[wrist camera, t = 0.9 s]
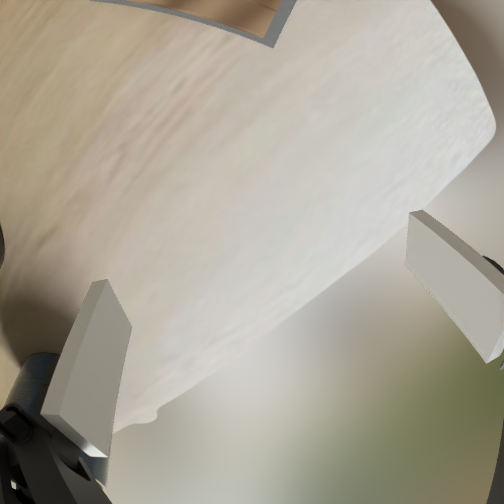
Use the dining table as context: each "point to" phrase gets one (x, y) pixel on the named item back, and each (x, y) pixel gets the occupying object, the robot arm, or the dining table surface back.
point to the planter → (26, 397)
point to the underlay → (268, 39)
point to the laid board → (227, 12)
